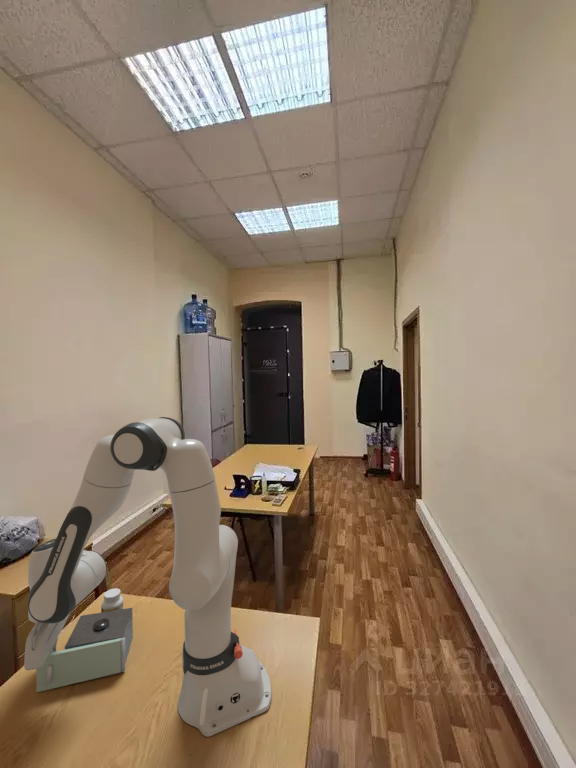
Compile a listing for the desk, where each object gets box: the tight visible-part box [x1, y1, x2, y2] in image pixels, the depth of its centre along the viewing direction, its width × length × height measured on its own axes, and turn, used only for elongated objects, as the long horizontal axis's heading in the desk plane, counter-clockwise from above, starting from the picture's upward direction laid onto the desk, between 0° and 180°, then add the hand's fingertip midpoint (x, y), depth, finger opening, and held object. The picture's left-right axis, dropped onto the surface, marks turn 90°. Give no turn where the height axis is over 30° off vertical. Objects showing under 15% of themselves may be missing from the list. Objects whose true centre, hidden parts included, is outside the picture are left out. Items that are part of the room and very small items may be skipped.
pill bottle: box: [100, 587, 124, 613], centre depth 107 cm, size 6×6×11 cm
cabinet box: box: [64, 607, 134, 665], centre depth 95 cm, size 14×12×10 cm
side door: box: [35, 637, 126, 693], centre depth 87 cm, size 20×2×8 cm, turn 107°
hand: (50, 657), depth 87 cm, fingers closed
